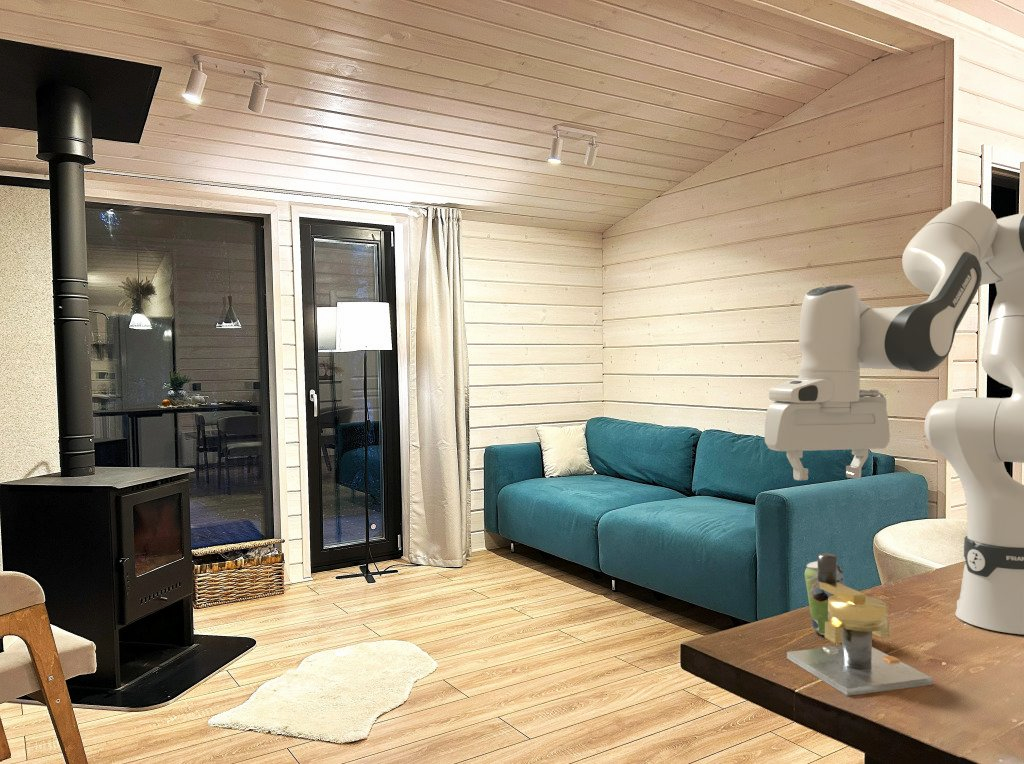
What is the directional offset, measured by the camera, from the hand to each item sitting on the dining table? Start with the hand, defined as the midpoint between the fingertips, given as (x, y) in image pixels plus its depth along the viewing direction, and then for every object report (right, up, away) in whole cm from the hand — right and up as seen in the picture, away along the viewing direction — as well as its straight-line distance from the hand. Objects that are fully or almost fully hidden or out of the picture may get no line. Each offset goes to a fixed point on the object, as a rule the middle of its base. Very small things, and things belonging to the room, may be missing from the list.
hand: (827, 478), depth 123 cm
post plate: (+2, -28, -6) cm, 28 cm away
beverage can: (+4, -27, +10) cm, 29 cm away
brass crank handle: (+1, -23, -4) cm, 23 cm away
